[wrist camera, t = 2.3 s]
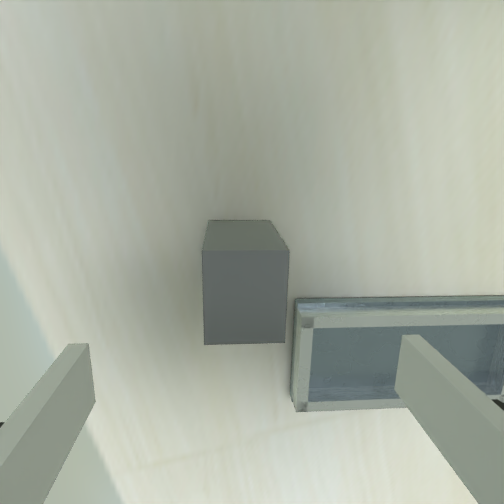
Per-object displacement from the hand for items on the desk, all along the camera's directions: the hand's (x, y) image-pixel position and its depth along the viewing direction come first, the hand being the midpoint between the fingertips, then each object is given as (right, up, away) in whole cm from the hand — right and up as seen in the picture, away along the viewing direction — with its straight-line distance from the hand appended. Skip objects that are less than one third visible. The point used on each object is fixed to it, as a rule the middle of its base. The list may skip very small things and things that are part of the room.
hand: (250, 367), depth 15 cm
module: (-1, +5, +15) cm, 15 cm away
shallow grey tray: (+14, -4, +18) cm, 23 cm away
